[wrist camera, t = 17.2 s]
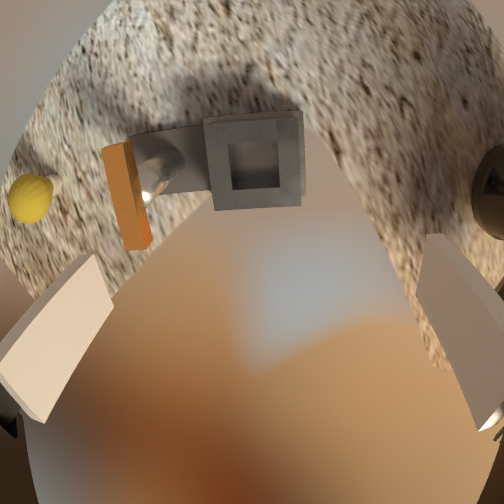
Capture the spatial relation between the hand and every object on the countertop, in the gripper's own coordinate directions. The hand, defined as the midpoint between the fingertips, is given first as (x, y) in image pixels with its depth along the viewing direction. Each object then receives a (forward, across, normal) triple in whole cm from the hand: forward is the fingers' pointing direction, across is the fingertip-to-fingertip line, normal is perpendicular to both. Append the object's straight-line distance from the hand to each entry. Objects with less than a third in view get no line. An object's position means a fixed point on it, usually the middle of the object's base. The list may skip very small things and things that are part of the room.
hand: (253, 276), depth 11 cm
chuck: (+27, -2, 0) cm, 27 cm away
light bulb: (+26, -31, +1) cm, 40 cm away
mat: (+26, -12, 0) cm, 29 cm away
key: (+25, -12, 0) cm, 28 cm away
